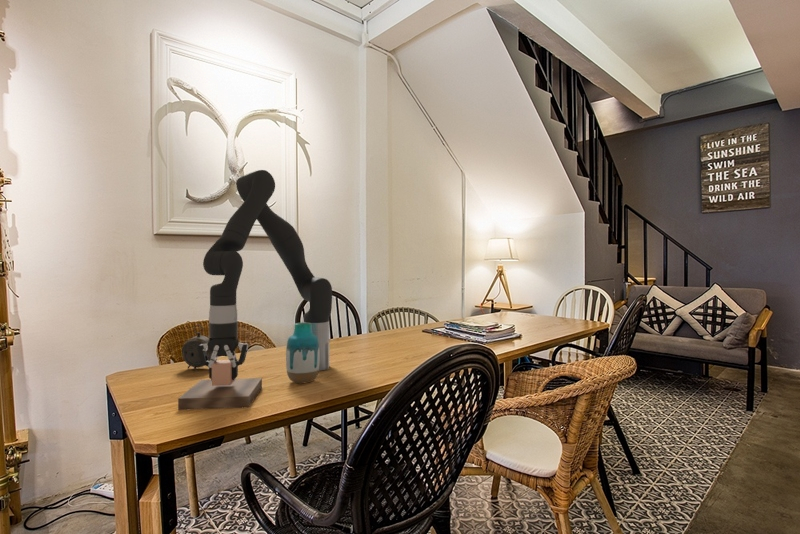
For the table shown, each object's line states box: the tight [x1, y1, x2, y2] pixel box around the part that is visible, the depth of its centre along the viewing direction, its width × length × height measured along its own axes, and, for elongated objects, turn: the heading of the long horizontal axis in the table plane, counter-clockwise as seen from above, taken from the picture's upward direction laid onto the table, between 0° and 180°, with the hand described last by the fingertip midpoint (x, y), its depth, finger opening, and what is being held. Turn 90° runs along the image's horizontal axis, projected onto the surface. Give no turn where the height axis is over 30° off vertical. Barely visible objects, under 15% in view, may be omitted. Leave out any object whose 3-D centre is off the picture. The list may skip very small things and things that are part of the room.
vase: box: [285, 321, 320, 384], centre depth 141 cm, size 11×11×19 cm
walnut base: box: [177, 377, 263, 411], centre depth 124 cm, size 18×18×3 cm
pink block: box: [212, 359, 235, 386], centre depth 124 cm, size 5×5×6 cm
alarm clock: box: [181, 324, 213, 372], centre depth 156 cm, size 11×5×16 cm, turn 84°
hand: (223, 379), depth 124 cm, fingers closed on pink block, 5 cm apart
